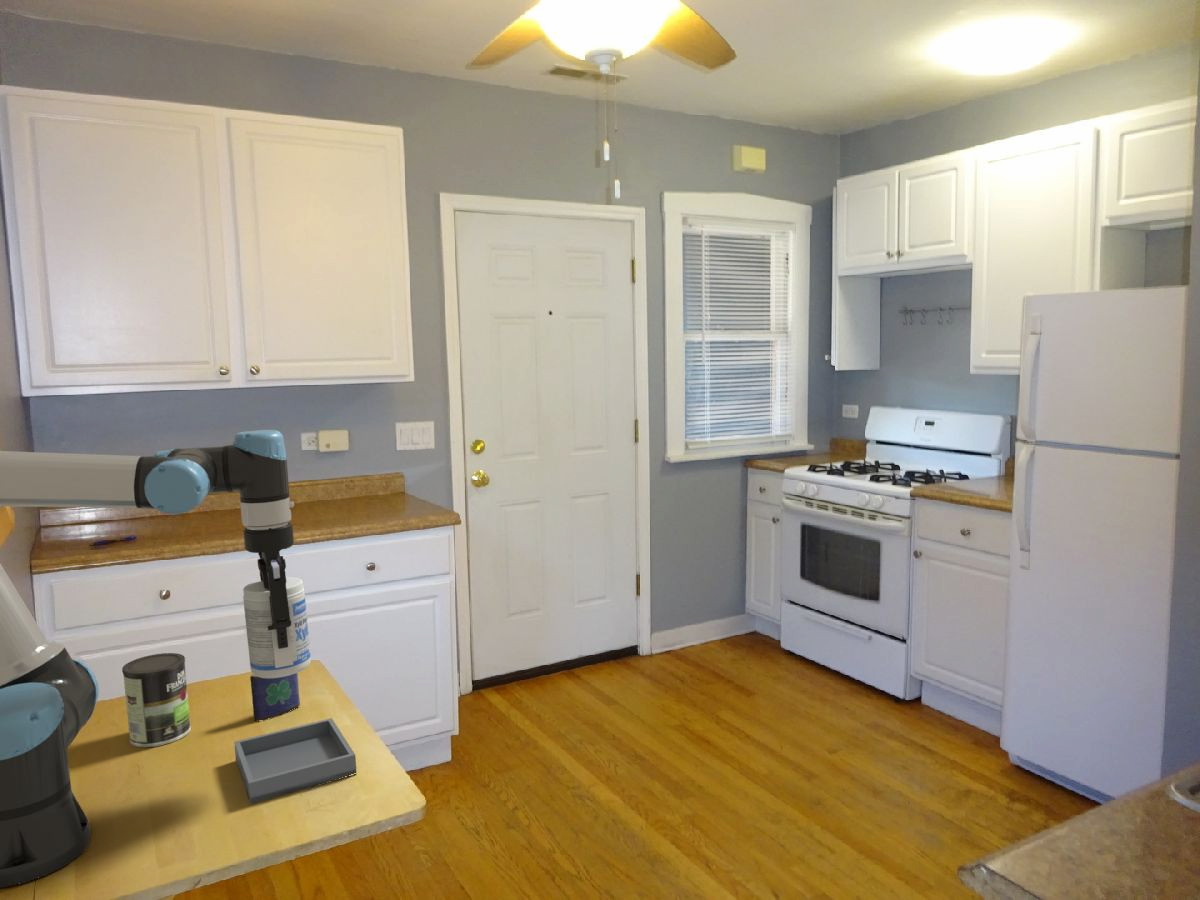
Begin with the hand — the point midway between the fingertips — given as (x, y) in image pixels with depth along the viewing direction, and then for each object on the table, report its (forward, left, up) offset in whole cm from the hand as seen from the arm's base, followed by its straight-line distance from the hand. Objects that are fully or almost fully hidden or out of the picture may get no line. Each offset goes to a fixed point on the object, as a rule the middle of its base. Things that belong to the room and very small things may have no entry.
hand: (280, 655), depth 139 cm
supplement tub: (0, 0, -3) cm, 3 cm away
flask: (+18, +17, -20) cm, 32 cm away
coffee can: (+4, +32, -20) cm, 39 cm away
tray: (+1, -1, -20) cm, 20 cm away
